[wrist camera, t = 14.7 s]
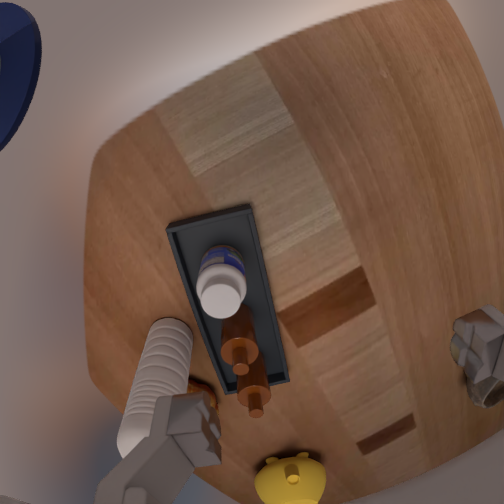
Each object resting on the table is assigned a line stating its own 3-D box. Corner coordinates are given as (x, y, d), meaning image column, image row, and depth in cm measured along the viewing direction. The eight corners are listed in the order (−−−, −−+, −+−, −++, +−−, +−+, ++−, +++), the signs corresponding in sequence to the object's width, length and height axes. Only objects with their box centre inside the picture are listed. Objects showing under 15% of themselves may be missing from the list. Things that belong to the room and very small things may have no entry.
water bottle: (163, 308, 42) (121, 463, 19) (202, 332, 44) (191, 490, 21) (135, 346, 44) (91, 489, 21) (171, 367, 46) (149, 511, 23)
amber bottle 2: (239, 372, 47) (243, 426, 36) (231, 351, 45) (234, 406, 35) (267, 366, 47) (276, 420, 36) (261, 345, 45) (270, 399, 35)
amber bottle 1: (225, 332, 44) (226, 386, 34) (217, 306, 42) (215, 358, 32) (256, 325, 44) (264, 379, 34) (249, 299, 42) (256, 350, 32)
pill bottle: (250, 272, 41) (258, 312, 32) (213, 289, 41) (210, 332, 32) (231, 236, 39) (233, 268, 30) (192, 255, 39) (183, 291, 30)
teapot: (247, 441, 54) (252, 499, 42) (324, 429, 55) (341, 484, 42) (256, 483, 62) (261, 529, 49) (319, 473, 62) (331, 518, 49)
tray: (287, 370, 48) (290, 381, 46) (225, 383, 48) (225, 395, 46) (250, 203, 38) (251, 208, 36) (169, 223, 38) (165, 229, 36)
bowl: (457, 359, 52) (482, 389, 43) (507, 322, 51) (534, 346, 42) (457, 395, 57) (476, 423, 48) (503, 361, 56) (525, 385, 46)
